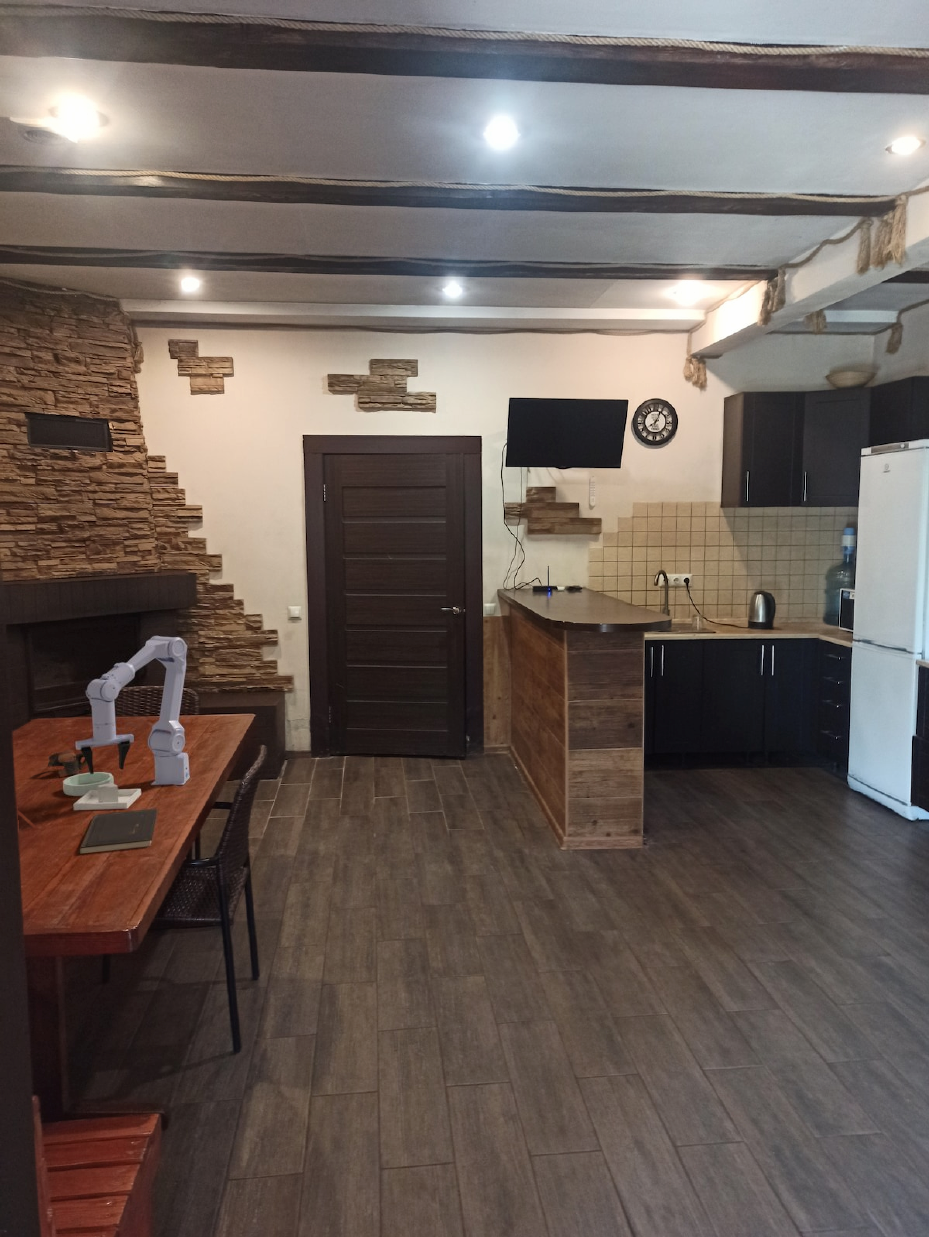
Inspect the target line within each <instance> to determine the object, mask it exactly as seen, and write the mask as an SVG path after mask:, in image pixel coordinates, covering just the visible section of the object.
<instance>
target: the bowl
mask: <svg viewBox="0 0 929 1237" xmlns="http://www.w3.org/2000/svg"><path fill="white" fill-rule="evenodd" d="M114 779H115V778H114V776H113V775H112V773H111V772H103V771H102V772H101V771H97V772H95V771H94V774H90V773H89V772H85V773H79V774H74V775H73V776H71V775H70V776H69V777H66V778H65V779H64V780H63V781H62V787H63V793H64V794H65V795H67V796H73V797H83V796H84V795H85V794H86V793H88V792H89V791H90V790H98V786H99V785H104V784H109V783H114ZM114 784H115V783H114Z"/></svg>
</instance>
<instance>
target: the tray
mask: <svg viewBox="0 0 929 1237" xmlns="http://www.w3.org/2000/svg"><path fill="white" fill-rule="evenodd" d="M141 795H142V789H141V788H130V789H129V788H127V789H126V788H124V789H119V788H118V802H109V803H99V802H98V790H90V791H89V792H88V793H86V794H85V795H84V796H81V797H80V798H79V799H78V800H77V801H75V802H74V803H73V811H92V810H97V811H98V810H122V809H123V810H125V809H129V807H130V806H131V805H132V804H133V803H134V802H136V800H138V799H139V798H140V796H141Z"/></svg>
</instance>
